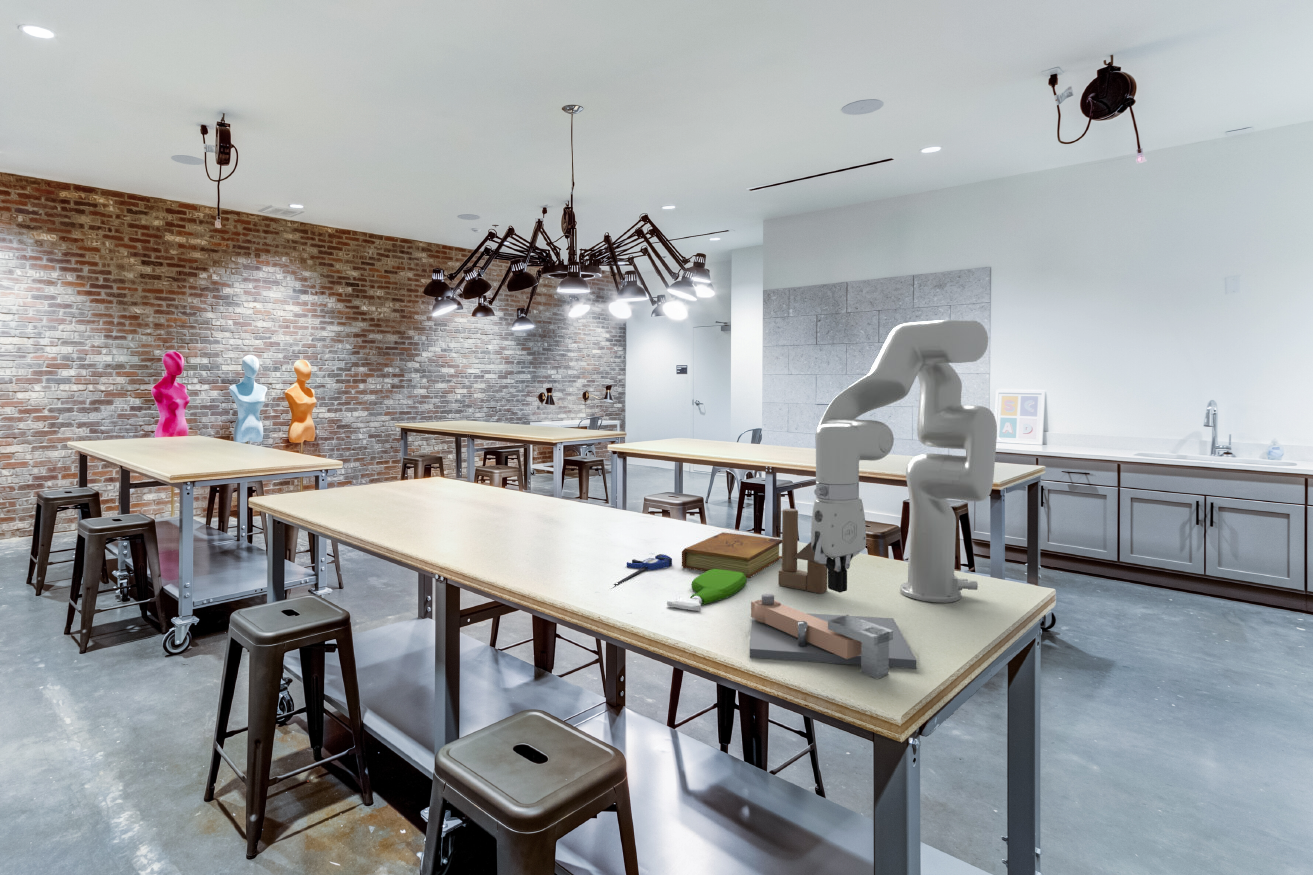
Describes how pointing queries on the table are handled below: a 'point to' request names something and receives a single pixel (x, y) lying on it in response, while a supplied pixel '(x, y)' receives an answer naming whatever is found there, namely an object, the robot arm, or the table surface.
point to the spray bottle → (711, 588)
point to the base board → (785, 647)
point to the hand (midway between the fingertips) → (837, 589)
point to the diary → (732, 553)
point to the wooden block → (789, 574)
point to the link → (816, 628)
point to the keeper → (865, 632)
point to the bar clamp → (648, 565)
